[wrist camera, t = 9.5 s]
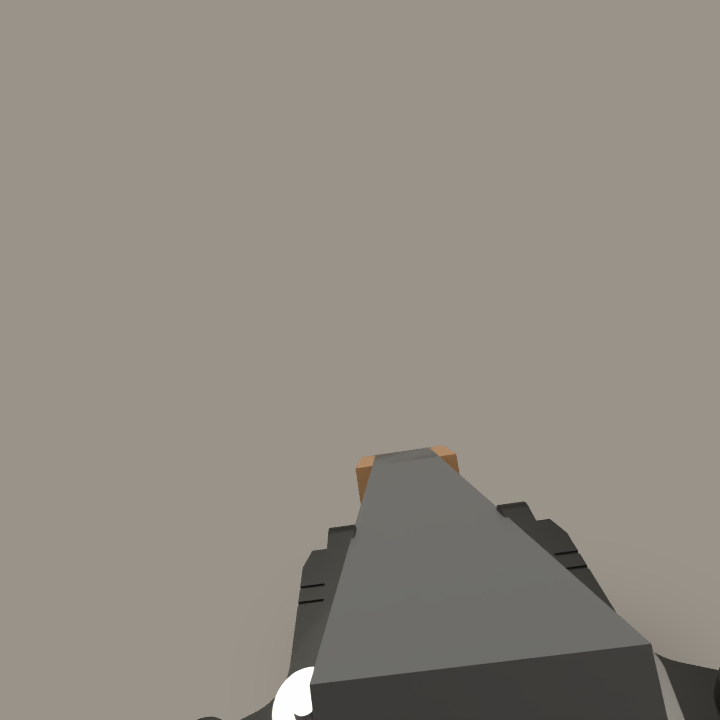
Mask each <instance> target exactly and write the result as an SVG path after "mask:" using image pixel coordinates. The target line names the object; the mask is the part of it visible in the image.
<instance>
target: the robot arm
mask: <svg viewBox="0 0 720 720" xmlns="http://www.w3.org/2000/svg"><path fill="white" fill-rule="evenodd" d="M496 510H497V511H498V512H499V513H501V514H502V515H503V516H504V517H505V518H509V519H511V520H512V521H513V522H514V523H515V524H516V525H517V526H519V527H520V528H521V529H522V530H523V531H524V532H525V533H526V534H528V535H529V536H530V537H531V538H532V539H533V540H534V541H535V542H537V543H538V544H539V545H540V546H541V547H542V548H543V549H545V550H546V551H547V552H548V553H549V554H550V555H551V556H552V557H554V558H555V559H556V560H557V561H558V562H559V563H560V564H562V565H563V566H564V567H565V568H566V569H567V570H568V571H569V572H571V573H572V574H573V575H574V576H575V577H576V578H577V579H578V580H580V581H581V582H582V583H583V584H584V585H585V586H586V587H588V588H589V589H590V590H591V591H592V592H593V593H594V594H595V595H597V596H598V597H599V598H600V599H601V600H602V601H603V602H604V603H606V604H607V605H608V606H609V607H610V608H611V609H612V610H614V608H613V607H612V605H611V603H610V602H609V600H608V599H607V597H606V595H605V594H604V592H603V590H602V589H601V587H600V586H599V584H598V582H597V581H596V579H595V578H594V576H593V574H592V573H591V571H590V569H588V568H587V565H586V563H585V561H584V560H583V558H582V556H581V555H580V554H578V550H577V548H576V547H575V545H574V544H573V542H572V540H571V539H570V537H569V536H568V534H567V533H566V532H565V531H564V530H563V529H562V528H560V527H559V526H558V525H557V524H555V523H554V522H553V521H552V520H550V519H546V520H538V521H536V519H535V518H534V516H533V514H532V512H531V510H530V509H529V507H528V505H527V504H526V503H525V502H517V503H511V504H503V505H497V508H496ZM355 532H356V526H355V525H349V526H341V527H335V528H329V532H328V545H327V549H323V550H316V551H312V553H311V554H310V556H309V558H308V560H307V561H306V563H305V565H304V567H303V571H302V578H301V586H300V587H301V590H300V594H299V601H298V602H299V606H298V609H297V617H296V625H295V632H294V640H293V648H292V655H291V663H290V669H289V673H288V676H287V679H286V681H285V682H284V683H283V685H282V686H281V688H280V689H279V691H278V693H277V695H276V697H275V698H274V699H273V700H272V701H271V702H270V703H269V704H267V705H266V706H265V707H263V708H262V709H260V710H259V711H257V712H255V713H253V714H251V715H249V716H247V717H246V718H243V719H241V720H313V712H312V704H311V696H310V687H309V683H310V680H311V677H312V673H313V670H314V666H315V663H316V659H317V656H318V652H319V649H320V645H321V642H322V638H323V635H324V632H325V628H326V625H327V621H328V618H329V614H330V611H331V607H332V604H333V600H334V597H335V593H336V590H337V586H338V583H339V580H340V576H341V573H342V569H343V566H344V562H345V559H346V555H347V552H348V548H349V545H350V541H351V539H353V538H354V536H355ZM614 611H615V610H614ZM653 654H654V659H655V663H656V668H657V672H658V677H659V681H660V686H661V690H662V695H663V699H664V704H665V708H666V713H667V717H668V720H720V668H719V670H714V669H710V668H704V667H700V666H695V665H690V664H685V663H681V662H677V661H673V660H670V659H667V658H664V657H662V656H660V655H658V654H656V653H654V652H653ZM198 720H221V719H219V718H216V717H204V718H200V719H198Z"/></svg>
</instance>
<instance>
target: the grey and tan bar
mask: <svg viewBox="0 0 720 720" xmlns="http://www.w3.org/2000/svg"><path fill="white" fill-rule="evenodd" d="M356 474H357V481H358V488H359V495H360V502H361V507H360V510H359V514H358V517H357V521H356V524H355V526H356V532H355V536H354V538H353V539H351V541H350V545H349V548H348V552H347V555H346V559H345V562H344V566H343V569H342V573H341V576H340V580H339V583H338V586H337V590H336V593H335V597H334V600H333V604H332V607H331V611H330V614H329V618H328V621H327V625H326V628H325V632H324V635H323V638H322V642H321V645H320V649H319V652H318V656H317V659H316V663H315V666H314V670H313V673H312V677H311V680H310V683H309V687H310V696H311V704H312V712H313V720H668V717H667V713H666V708H665V704H664V699H663V695H662V690H661V686H660V681H659V677H658V672H657V668H656V663H655V659H654V654H653V650H652V645H651V643H650V642H648V641H647V640H646V639H645V638H644V637H643V636H642V635H641V634H640V633H638V632H637V631H636V630H635V629H634V628H633V627H631V626H630V625H629V624H628V623H627V622H626V621H625V620H624V619H623V618H621V617H620V616H619V615H618V614H617V613H616V612H615V611H614V610H612V609H611V608H610V607H609V606H608V605H607V604H606V603H604V602H603V601H602V600H601V599H600V598H599V597H598V596H597V595H595V594H594V593H593V592H592V591H591V590H590V589H589V588H588V587H586V586H585V585H584V584H583V583H582V582H581V581H580V580H578V579H577V578H576V577H575V576H574V575H573V574H572V573H571V572H569V571H568V570H567V569H566V568H565V567H564V566H563V565H562V564H560V563H559V562H558V561H557V560H556V559H555V558H554V557H552V556H551V555H550V554H549V553H548V552H547V551H546V550H545V549H543V548H542V547H541V546H540V545H539V544H538V543H537V542H535V541H534V540H533V539H532V538H531V537H530V536H529V535H528V534H526V533H525V532H524V531H523V530H522V529H521V528H520V527H519V526H517V525H516V524H515V523H514V522H513V521H512V520H511V519H509V518H505V517H504V516H503V515H502V514H501V513H499V512H498V511H497V510H496V508H497V507H496V506H495V505H494V504H493V503H491V502H490V501H489V500H488V499H487V498H486V497H484V496H483V495H482V494H481V493H480V492H479V491H478V490H477V489H476V488H474V487H473V486H472V485H471V484H470V483H469V482H468V481H466V480H465V479H464V478H463V477H462V476H461V475H460V474H459V468H458V462H457V457H456V454H455V453H454V452H452V451H451V450H449V449H447V448H446V447H444V446H436V447H429V448H422V449H416V450H409V451H402V452H395V453H388V454H381V455H374V456H368V457H362V458H361V460H360V462H359V463H358V465H357V467H356Z"/></svg>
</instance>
